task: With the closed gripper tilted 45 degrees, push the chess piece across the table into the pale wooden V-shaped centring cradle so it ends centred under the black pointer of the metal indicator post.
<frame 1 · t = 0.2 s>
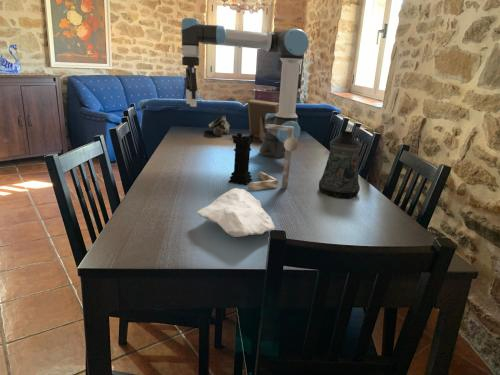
hand: (191, 105, 170), 28 cm above the table, tool pointing down, fingers open, 13 cm apart
chess piece: (240, 182, 157), on the table
white rock: (235, 225, 115), on the table
beer stein: (335, 191, 154), on the table
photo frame: (260, 139, 250), on the table
centring cradle: (260, 184, 155), on the table
hollow geode rock: (218, 134, 256), on the table
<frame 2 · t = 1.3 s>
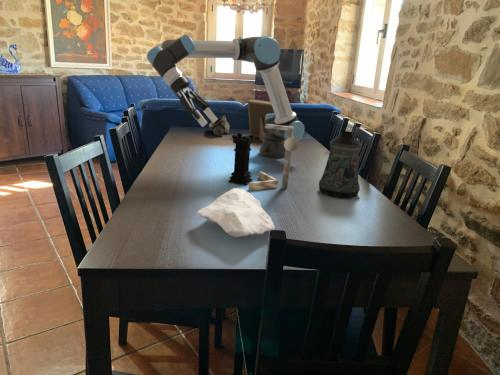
hand: (210, 123, 153), 23 cm above the table, tool tilted 45°, fingers open, 11 cm apart
nothing on the table moved.
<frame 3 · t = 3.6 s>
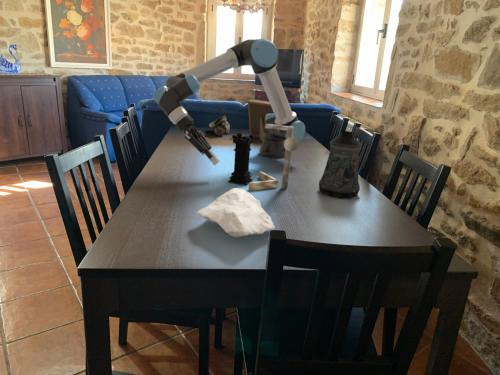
hand: (217, 163, 157), 7 cm above the table, tool tilted 45°, fingers closed
nothing on the table moved.
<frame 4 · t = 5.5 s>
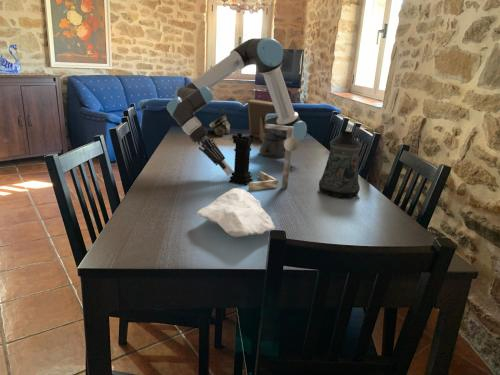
hand: (230, 173, 157), 3 cm above the table, tool tilted 45°, fingers closed
chess piece: (240, 182, 157), on the table, touching gripper
everything else where it was.
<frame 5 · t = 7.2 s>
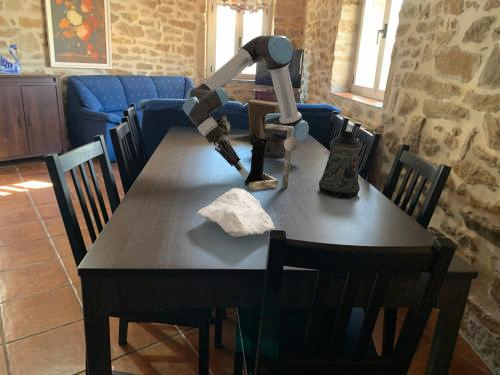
hand: (245, 175, 155), 3 cm above the table, tool tilted 45°, fingers closed
chess piece: (255, 183, 156), on the table, touching centring cradle, gripper
everything else where it was.
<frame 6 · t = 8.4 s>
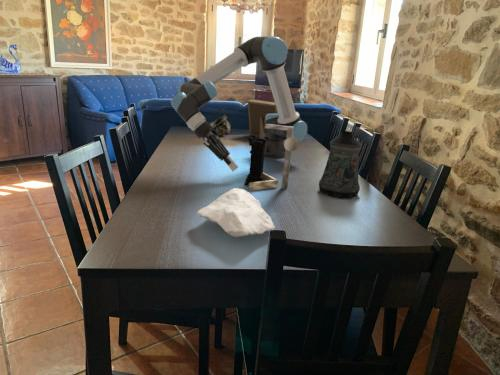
hand: (235, 169, 156), 5 cm above the table, tool tilted 45°, fingers closed
chess piece: (255, 184, 156), on the table
everything else where it was.
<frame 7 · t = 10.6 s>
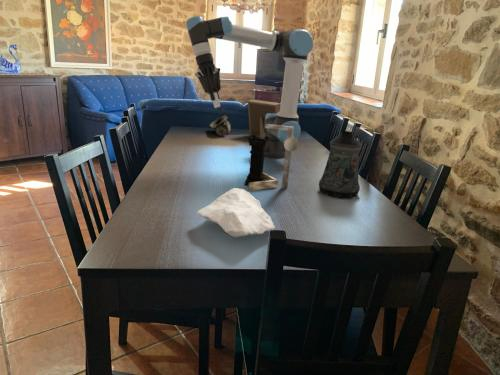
hand: (217, 107, 169), 28 cm above the table, tool tilted 20°, fingers closed
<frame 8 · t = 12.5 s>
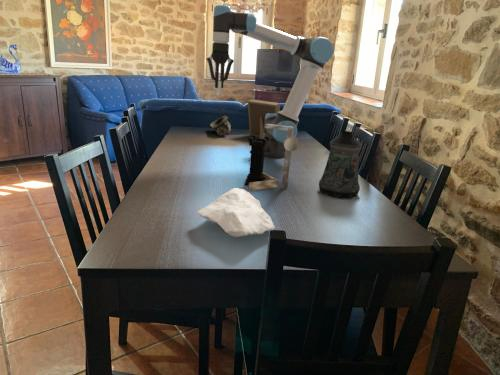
hand: (218, 95, 177), 32 cm above the table, tool pointing down, fingers closed
at the end: chess piece 2.4 cm from the centring cradle (horizontally); chess piece tilted 0°; chess piece moved 6.5 cm from its start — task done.
